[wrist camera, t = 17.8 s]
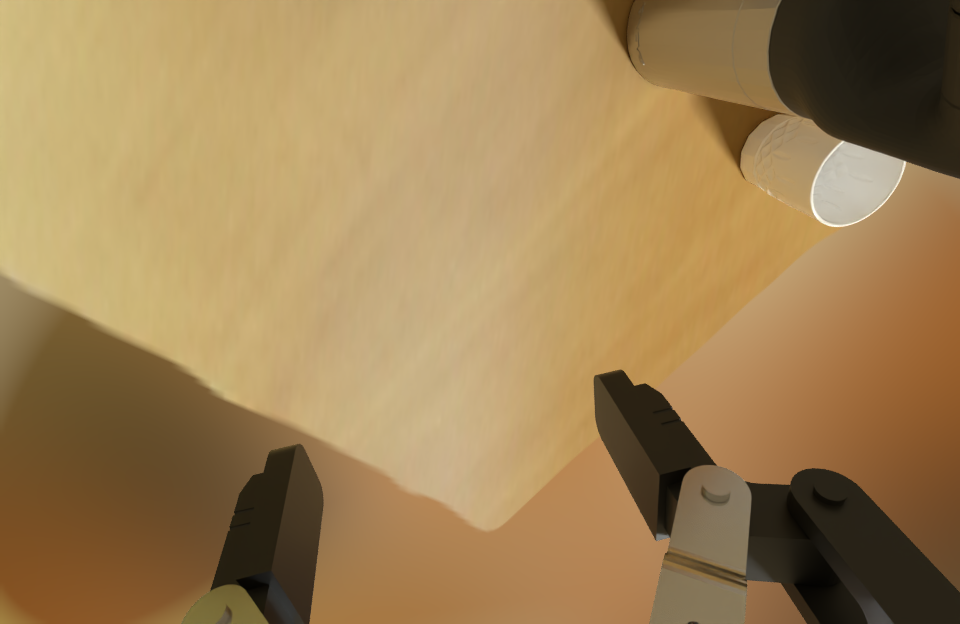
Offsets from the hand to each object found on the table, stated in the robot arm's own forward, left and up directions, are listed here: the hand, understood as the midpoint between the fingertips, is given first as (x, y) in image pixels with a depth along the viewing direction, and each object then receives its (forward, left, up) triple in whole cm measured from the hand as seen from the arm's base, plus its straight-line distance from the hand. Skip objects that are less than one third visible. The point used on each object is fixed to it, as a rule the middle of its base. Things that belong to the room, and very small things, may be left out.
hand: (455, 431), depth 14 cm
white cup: (-34, +6, -33) cm, 48 cm away
